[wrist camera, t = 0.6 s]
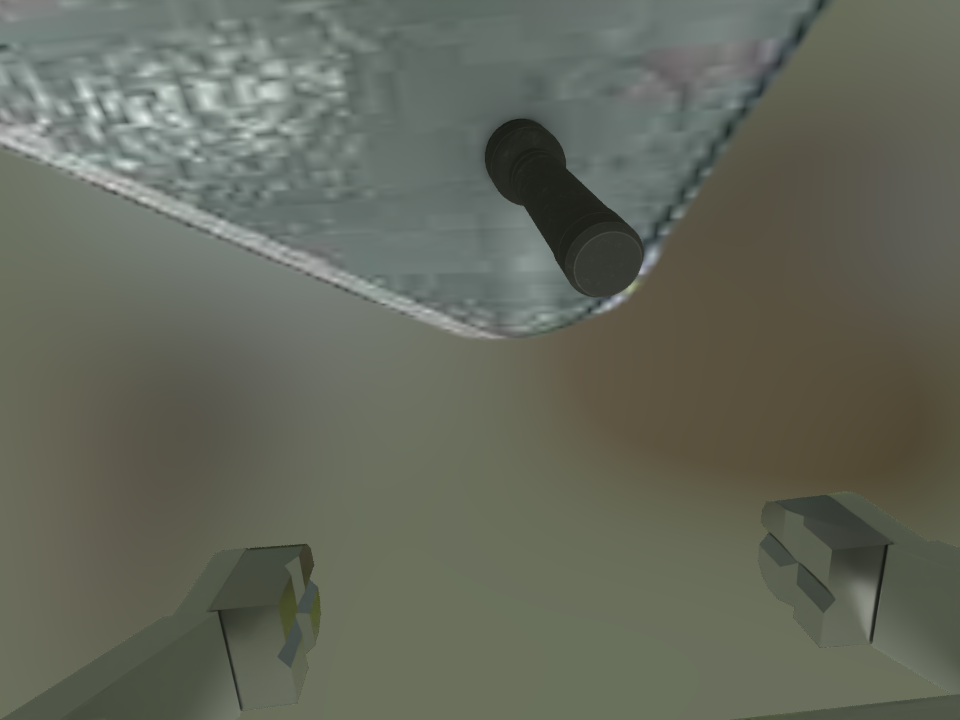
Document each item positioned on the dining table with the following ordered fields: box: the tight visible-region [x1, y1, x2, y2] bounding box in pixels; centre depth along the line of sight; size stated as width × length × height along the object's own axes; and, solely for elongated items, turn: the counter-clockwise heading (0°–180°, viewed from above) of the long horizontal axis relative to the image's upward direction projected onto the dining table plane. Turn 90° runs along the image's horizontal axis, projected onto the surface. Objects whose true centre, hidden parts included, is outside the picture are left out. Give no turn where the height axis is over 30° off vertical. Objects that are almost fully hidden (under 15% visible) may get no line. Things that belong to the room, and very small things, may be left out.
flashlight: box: [485, 119, 643, 297], centre depth 42 cm, size 7×28×7 cm
